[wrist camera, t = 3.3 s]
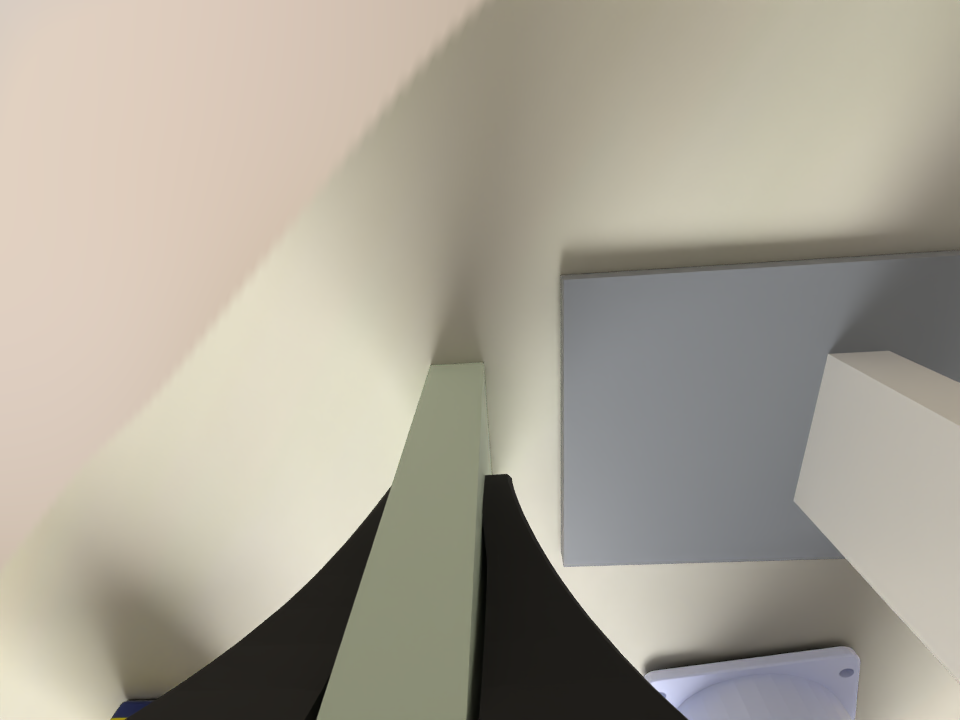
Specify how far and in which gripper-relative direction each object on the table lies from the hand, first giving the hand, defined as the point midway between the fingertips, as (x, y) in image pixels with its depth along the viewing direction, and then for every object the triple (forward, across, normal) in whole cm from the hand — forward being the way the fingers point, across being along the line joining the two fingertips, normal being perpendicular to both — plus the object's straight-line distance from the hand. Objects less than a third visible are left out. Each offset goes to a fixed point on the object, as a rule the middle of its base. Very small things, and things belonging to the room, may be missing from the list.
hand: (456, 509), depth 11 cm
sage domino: (+3, 0, 0) cm, 4 cm away
